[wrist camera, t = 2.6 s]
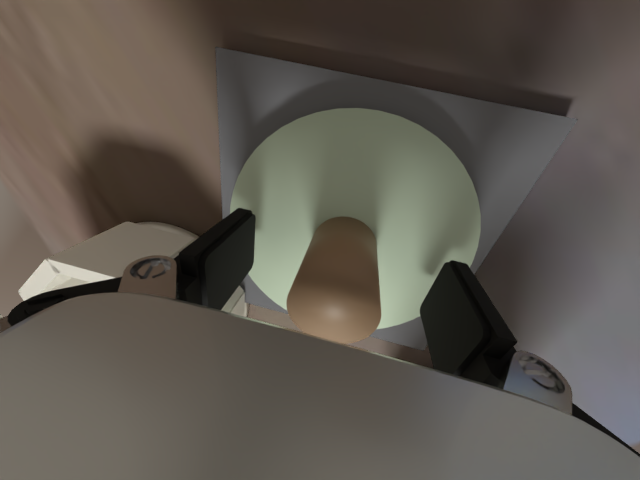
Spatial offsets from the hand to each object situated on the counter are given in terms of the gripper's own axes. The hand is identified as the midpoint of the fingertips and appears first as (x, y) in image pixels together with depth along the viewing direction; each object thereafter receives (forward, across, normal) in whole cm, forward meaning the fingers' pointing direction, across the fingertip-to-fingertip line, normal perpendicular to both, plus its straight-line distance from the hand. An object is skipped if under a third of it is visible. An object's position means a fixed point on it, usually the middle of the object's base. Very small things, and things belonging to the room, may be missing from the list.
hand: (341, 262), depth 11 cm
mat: (+3, 0, 0) cm, 3 cm away
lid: (+2, 0, 0) cm, 2 cm away
